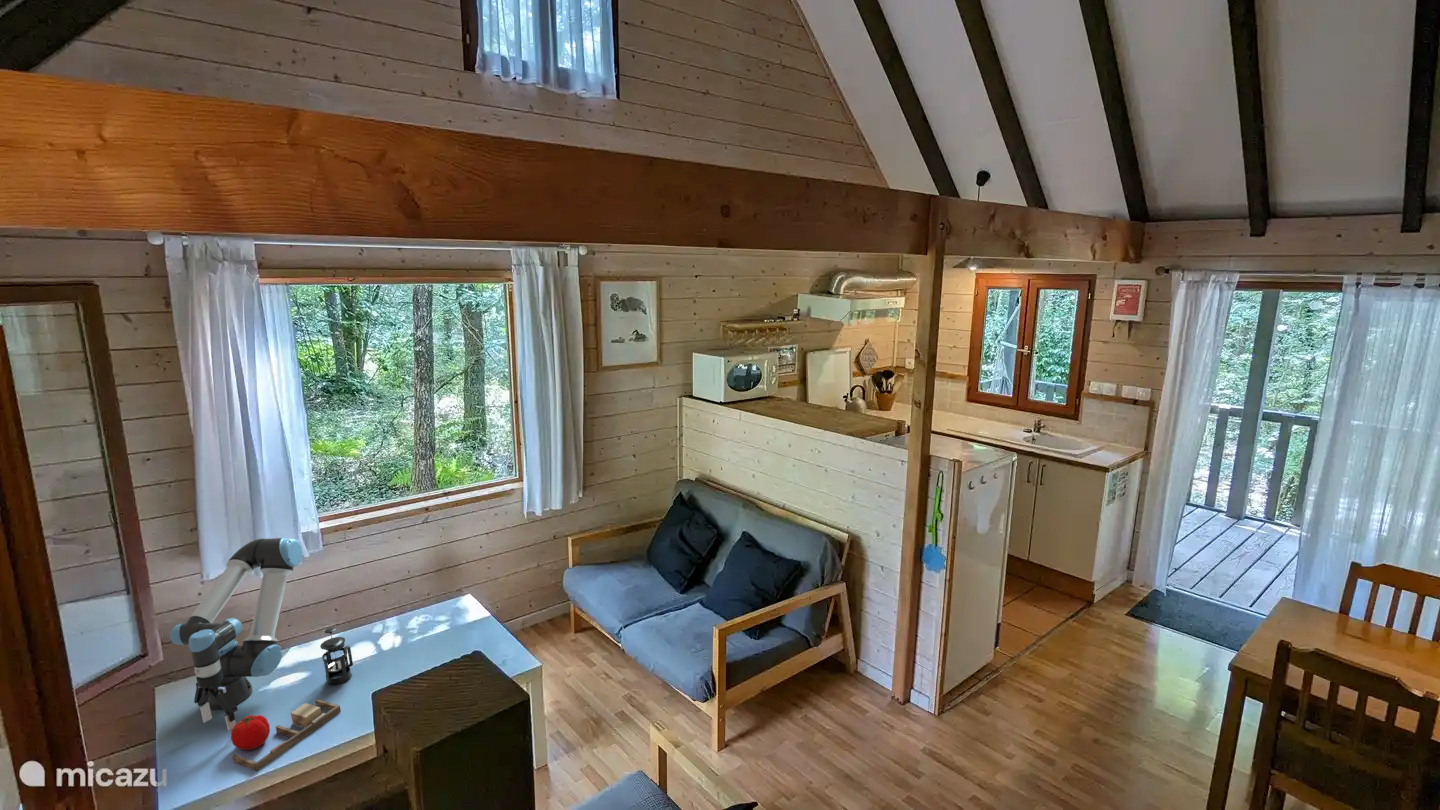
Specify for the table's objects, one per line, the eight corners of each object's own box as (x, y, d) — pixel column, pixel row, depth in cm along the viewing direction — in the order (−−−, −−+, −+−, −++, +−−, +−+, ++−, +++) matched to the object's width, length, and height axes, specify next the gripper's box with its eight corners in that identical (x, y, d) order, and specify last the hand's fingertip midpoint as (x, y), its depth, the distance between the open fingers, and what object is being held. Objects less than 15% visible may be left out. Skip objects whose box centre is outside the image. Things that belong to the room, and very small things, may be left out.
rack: (233, 762, 237) (231, 754, 237) (318, 704, 267) (316, 697, 267) (257, 771, 233) (255, 763, 232) (340, 711, 263) (339, 704, 262)
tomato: (276, 743, 246) (271, 716, 244) (239, 761, 238) (233, 733, 235) (265, 729, 254) (260, 703, 252) (229, 746, 245) (223, 719, 243)
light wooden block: (292, 724, 257) (290, 712, 255) (307, 714, 262) (305, 703, 261) (308, 729, 254) (305, 717, 253) (322, 719, 259) (320, 707, 258)
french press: (334, 689, 277) (325, 638, 272) (319, 684, 281) (310, 633, 276) (360, 673, 287) (352, 623, 282) (345, 668, 291) (337, 619, 286)
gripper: (175, 671, 247) (186, 723, 252) (221, 685, 238) (232, 738, 243) (197, 660, 254) (208, 710, 259) (242, 673, 245) (253, 725, 250)
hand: (219, 724), depth 251 cm, fingers open, 13 cm apart
